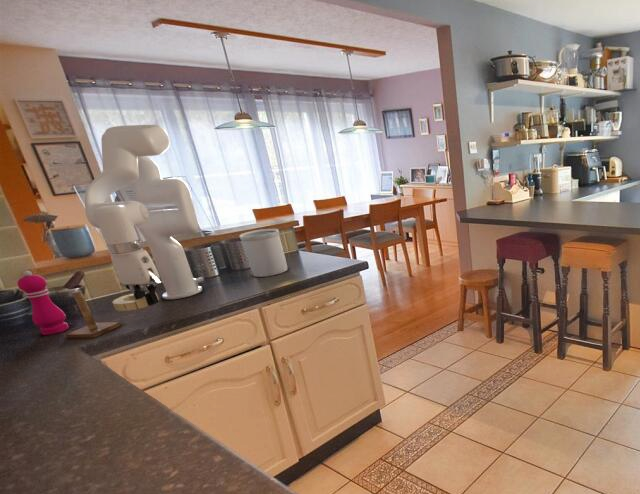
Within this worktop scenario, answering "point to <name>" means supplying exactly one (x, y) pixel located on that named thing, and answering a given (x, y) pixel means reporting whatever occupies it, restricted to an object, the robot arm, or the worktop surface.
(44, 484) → the worktop surface
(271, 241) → the utensil holder
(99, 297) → the worktop surface
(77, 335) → the wooden peg stand
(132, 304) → the tape
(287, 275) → the worktop surface
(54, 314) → the pepper mill
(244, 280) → the worktop surface
